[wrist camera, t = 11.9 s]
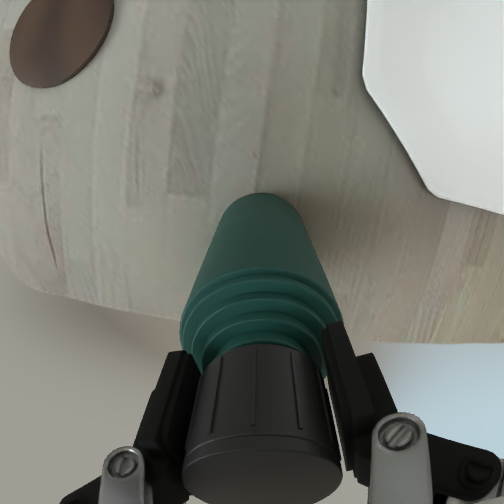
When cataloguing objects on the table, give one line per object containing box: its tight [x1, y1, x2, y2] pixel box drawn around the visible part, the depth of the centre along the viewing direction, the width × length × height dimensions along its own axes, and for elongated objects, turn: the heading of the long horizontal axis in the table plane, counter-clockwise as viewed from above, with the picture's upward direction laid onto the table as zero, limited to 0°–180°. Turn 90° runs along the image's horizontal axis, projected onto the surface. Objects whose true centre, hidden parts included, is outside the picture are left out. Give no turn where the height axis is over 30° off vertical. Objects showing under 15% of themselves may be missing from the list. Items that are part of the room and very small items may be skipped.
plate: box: [361, 0, 504, 215], centre depth 17 cm, size 24×24×2 cm
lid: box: [10, 0, 114, 88], centre depth 17 cm, size 11×11×1 cm
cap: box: [181, 344, 343, 504], centre depth 8 cm, size 4×4×4 cm
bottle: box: [180, 193, 344, 379], centre depth 15 cm, size 6×6×18 cm
